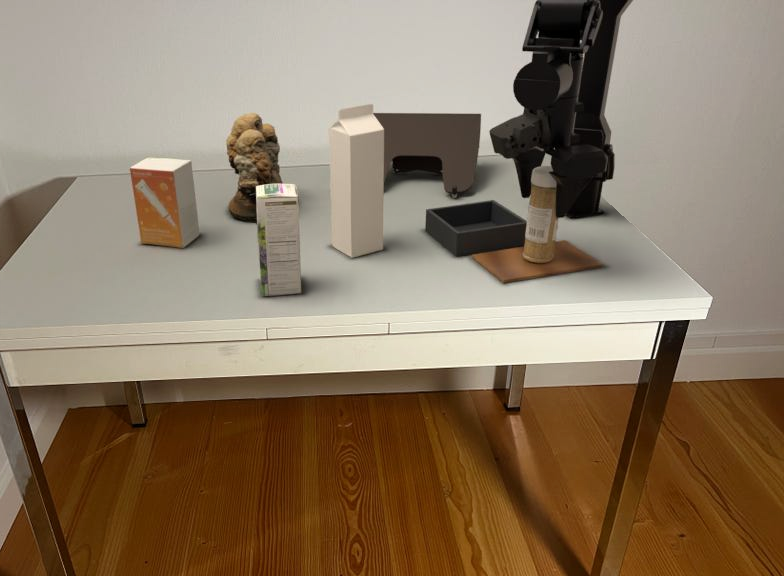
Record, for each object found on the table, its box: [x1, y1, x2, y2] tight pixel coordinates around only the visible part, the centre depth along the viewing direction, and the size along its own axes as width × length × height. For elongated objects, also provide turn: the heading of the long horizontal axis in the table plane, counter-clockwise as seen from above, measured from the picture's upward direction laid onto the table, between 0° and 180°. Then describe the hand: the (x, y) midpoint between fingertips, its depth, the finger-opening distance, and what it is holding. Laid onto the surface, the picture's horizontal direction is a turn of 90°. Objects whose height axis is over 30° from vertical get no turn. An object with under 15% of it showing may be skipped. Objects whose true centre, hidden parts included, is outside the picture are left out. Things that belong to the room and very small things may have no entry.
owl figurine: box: [225, 112, 284, 221], centre depth 135 cm, size 18×12×17 cm, turn 174°
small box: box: [129, 157, 201, 249], centre depth 124 cm, size 8×6×13 cm
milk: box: [328, 103, 385, 259], centre depth 115 cm, size 6×6×22 cm
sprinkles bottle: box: [523, 165, 559, 263], centre depth 109 cm, size 5×5×13 cm
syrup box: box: [255, 183, 302, 297], centre depth 105 cm, size 6×6×14 cm
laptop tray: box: [373, 112, 482, 199], centre depth 148 cm, size 23×23×9 cm
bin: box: [424, 199, 527, 257], centre depth 121 cm, size 12×12×4 cm
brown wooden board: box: [471, 239, 604, 284], centre depth 113 cm, size 16×10×1 cm, turn 106°
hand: (542, 207), depth 109 cm, fingers open, 9 cm apart
